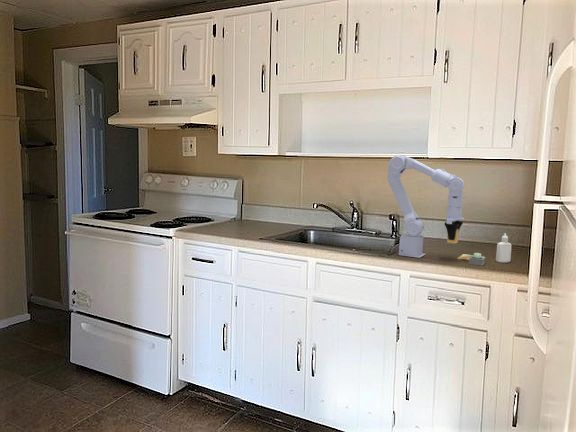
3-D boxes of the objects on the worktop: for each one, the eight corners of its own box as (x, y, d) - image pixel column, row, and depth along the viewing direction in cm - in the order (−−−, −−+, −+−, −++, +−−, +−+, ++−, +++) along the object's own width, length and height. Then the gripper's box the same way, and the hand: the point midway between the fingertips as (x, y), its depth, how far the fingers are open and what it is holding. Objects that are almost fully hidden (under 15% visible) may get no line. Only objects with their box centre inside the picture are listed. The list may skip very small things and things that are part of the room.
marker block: (447, 242, 199) (448, 227, 199) (449, 241, 202) (450, 226, 201) (455, 243, 198) (456, 228, 197) (457, 242, 200) (458, 227, 200)
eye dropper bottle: (510, 263, 196) (513, 234, 194) (496, 262, 197) (498, 233, 196) (509, 261, 200) (512, 233, 198) (495, 260, 202) (497, 232, 200)
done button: (472, 260, 194) (473, 253, 193) (474, 259, 196) (474, 252, 196) (479, 261, 192) (480, 254, 192) (481, 260, 195) (482, 253, 194)
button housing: (469, 263, 194) (469, 258, 193) (472, 261, 198) (472, 255, 197) (482, 265, 191) (482, 259, 191) (484, 263, 195) (485, 257, 195)
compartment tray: (456, 259, 201) (456, 257, 201) (462, 255, 209) (462, 253, 209) (480, 262, 196) (480, 260, 196) (485, 258, 204) (485, 256, 204)
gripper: (460, 209, 190) (457, 242, 192) (469, 206, 202) (466, 237, 203) (442, 207, 194) (440, 240, 195) (452, 204, 205) (450, 235, 207)
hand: (452, 239), depth 200 cm, fingers closed on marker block, 3 cm apart
